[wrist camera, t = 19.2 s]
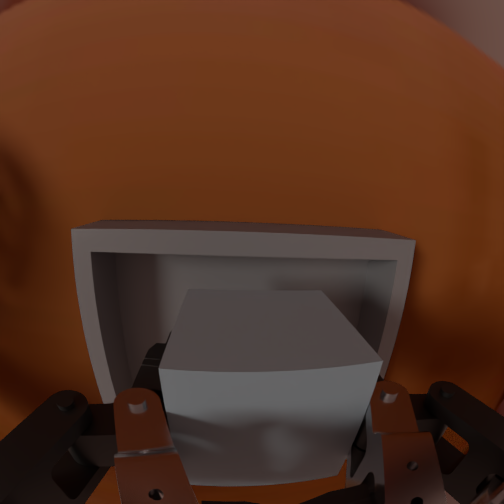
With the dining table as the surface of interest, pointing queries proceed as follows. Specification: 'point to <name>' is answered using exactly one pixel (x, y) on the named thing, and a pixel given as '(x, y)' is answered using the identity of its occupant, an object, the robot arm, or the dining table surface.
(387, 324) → the tray
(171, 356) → the slate block
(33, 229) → the dining table surface
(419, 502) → the robot arm
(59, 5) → the dining table surface
